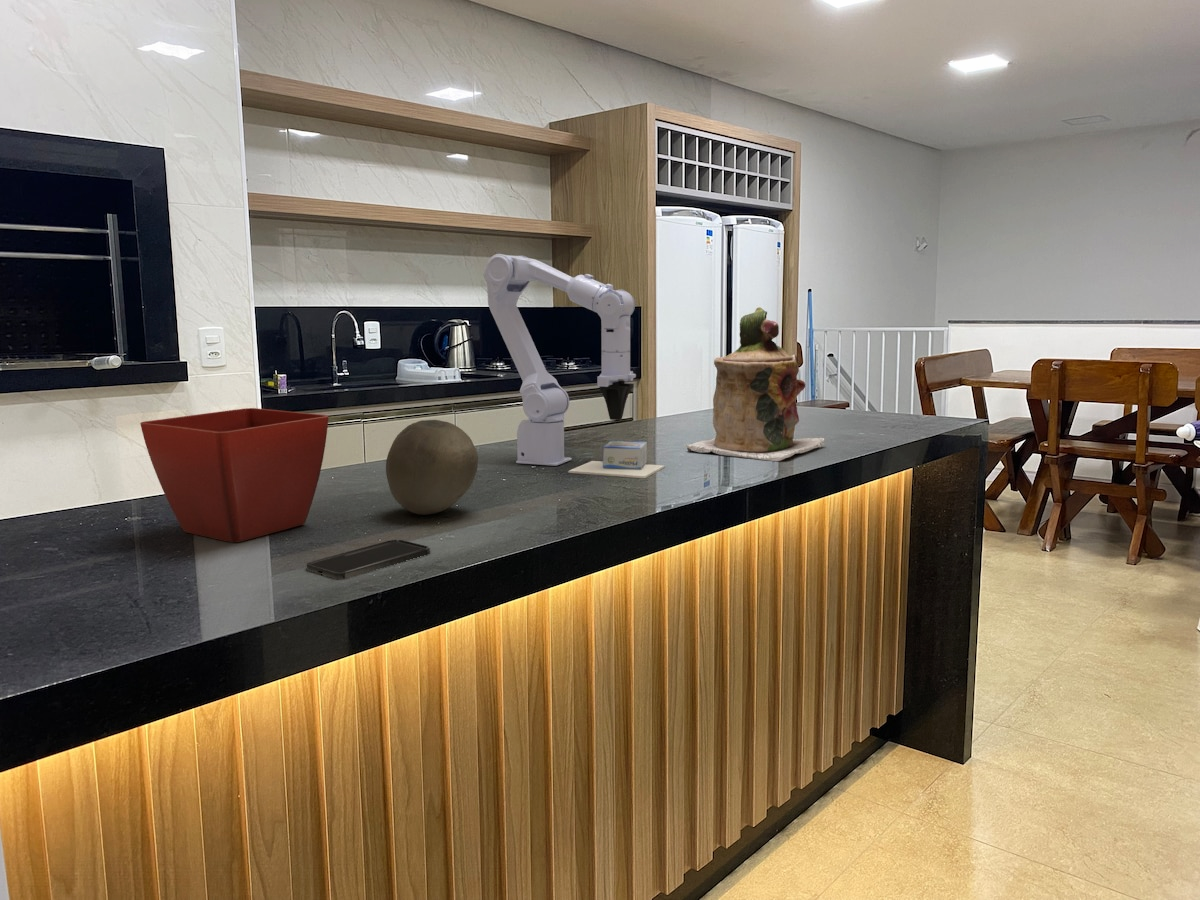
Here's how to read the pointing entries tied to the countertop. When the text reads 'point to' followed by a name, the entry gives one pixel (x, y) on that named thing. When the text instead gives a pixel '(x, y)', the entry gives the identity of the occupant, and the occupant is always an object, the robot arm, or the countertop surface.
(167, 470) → the plant pot
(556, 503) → the countertop surface
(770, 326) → the cookie jar
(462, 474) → the cantaloupe
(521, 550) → the countertop surface
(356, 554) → the phone
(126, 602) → the countertop surface
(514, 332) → the robot arm
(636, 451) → the medicine box
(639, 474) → the mat
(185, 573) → the countertop surface
